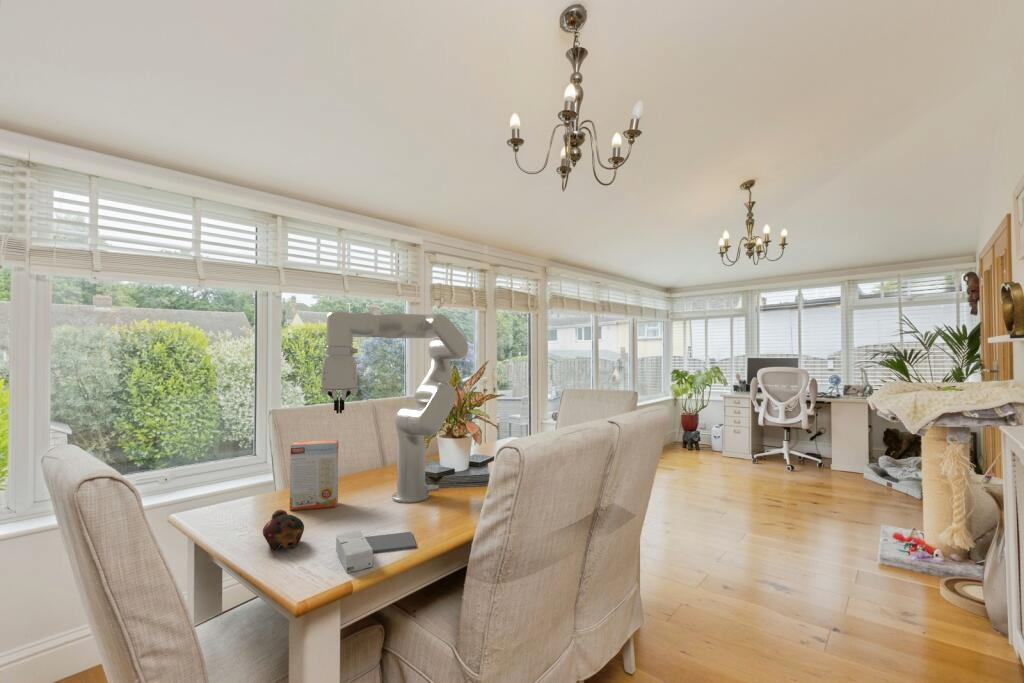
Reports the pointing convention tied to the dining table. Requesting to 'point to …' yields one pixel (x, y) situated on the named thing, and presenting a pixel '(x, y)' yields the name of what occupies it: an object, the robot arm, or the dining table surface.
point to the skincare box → (354, 551)
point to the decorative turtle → (283, 530)
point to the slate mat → (391, 542)
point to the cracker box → (313, 474)
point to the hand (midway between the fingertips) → (339, 412)
